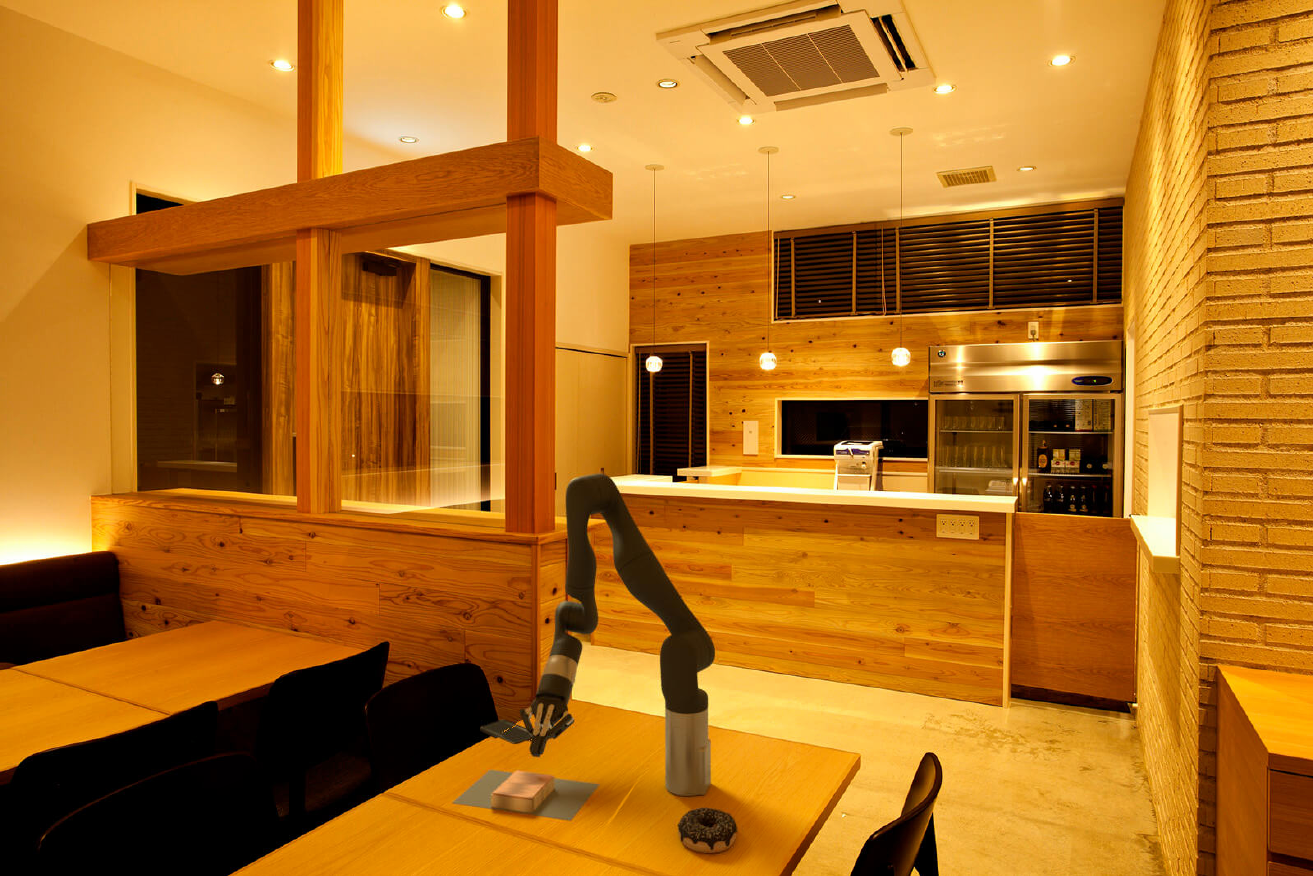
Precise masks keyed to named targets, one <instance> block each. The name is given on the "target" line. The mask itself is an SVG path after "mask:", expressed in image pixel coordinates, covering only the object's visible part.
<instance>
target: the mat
mask: <svg viewBox="0 0 1313 876" xmlns="http://www.w3.org/2000/svg"><path fill="white" fill-rule="evenodd" d="M513 773H514V772H511V771H501V770H494V769H489V770H488V771H487V772H486V773H485V774H483V775H482V776H481V777H480V778H479V779H478V780H476V781H475V782H474V783H473V784H471V786H470V787H468V789H466V790H465V791H464V792H463V793H462V794H460V795H459V796H458V797H457V798H455V800H453V801H452V802H451V804H456V805H462V806H469V807H475V808H483V809H490V810H495V811H503V812H510V813H517V814H523V815H529V816H530V815H531V816H537V817H544V818H549V819H550V818H551V819H557V820H565V821H570V822H571V821H572V820H573V818H574V817H575V816H576V815H577V814H578V813H579V811H580V810H581V809H582V807H583V806H584V805H585V803H586V802H587V801H588V799H590V797H591V796H592V795H593V794H594V792H595V791H596V790H597V789H598V787H599V786H600V783H593V782H586V781H579V780H570V779H563V778H556V777H555V788H554V789H553V791H552V792H551V793H550V794H549V795H548V796H547V797H546V798H545V799H544V800H543V802H542V803H541V804H540V805H539V806H538V807H537V808H536V809H535V810H534V811H533V813H529V812H522V811H515V810H508V809H502V808H495V807H491V794H492V793H493V792H494V791H495V790H496V789H497V788H498V787H499V786H500V785H501V784H502V783H503V782H505V781H506V780H507V779H508V778H509V777H510V776H511V775H512V774H513Z"/></svg>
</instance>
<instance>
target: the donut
mask: <svg viewBox="0 0 1313 876" xmlns="http://www.w3.org/2000/svg"><path fill="white" fill-rule="evenodd" d="M736 823H737V822H736V821H735V818H734V817H733V816H732V815H731V814H730V813H729V812H725V811H722V810H721V809H716V808H710V807H698V808H694V809H691V810H688V811H687V812H686V813H685V814H683V816H682V817H681V818H680V819H679V822H678V824H677V827H678V828H677V830H678V838H679V840H680V842H681V843H682V845H684V846H685V847H686V848H688V849H689V850H692V851H694V852H697V853H701V854H702V853H703V854H714V853H715V854H717V853H721V852H723V851H726V850H728V849H729V848H731V846H732V845H733V844H735V841H736V839H737V833H738V826H737V824H736ZM716 852H717V853H716Z"/></svg>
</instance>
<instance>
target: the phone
mask: <svg viewBox="0 0 1313 876" xmlns="http://www.w3.org/2000/svg"><path fill="white" fill-rule="evenodd" d="M515 725H516V723H514V722H512V721H510V720H509V719H500V720H497V721H493V722H491V723H488V724H485V725H482V726H480V732H482V733H484V734H486V735H488V736H491V737H492V738H495V739H498V738H499V739H501V740H504V741H506V742H509V743H511V744H513V745H515V744H520V743H524V742H530V741H529V740H531V739H532V738H533V736H530V734H529V733H528V732H527V730H526V727H525V726H521V725H519V724H517V725H516V726H515ZM513 726H515V727H513ZM512 727H513V728H512ZM508 728H509V729H508ZM507 729H508V730H507ZM504 730H507V731H505V732H504ZM502 732H503V733H502ZM531 741H532V740H531Z"/></svg>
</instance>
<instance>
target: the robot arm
mask: <svg viewBox="0 0 1313 876" xmlns="http://www.w3.org/2000/svg"><path fill="white" fill-rule="evenodd" d="M597 514H600V515H601V516H602V518H603V520H604V521H605V522H606V524H607V526H608V528H609V530H610V533H611V535H612V553H613V554H612V557H613V565H614V568H615V571H616V573H617V574H618V576H619V578H620V580H621V581H622V583H623V584H624V586H625V587H626V589H627V591H628V592H629V593H630V594H631V596H632V597H634V598H635V599H636V600H637V601H638V602H640V603H641V604H642V605H643V606H644V607H645V608H647V609H648V610H650V611H651V612H652V613H654V615H656V617H658V618H659V619H660V620H661V621H662V623H663V624H664V626H665V627H666V628H667V630H668V631H669V633H670V635H669V636H667V637H666V638H665V639H664V641H663V642H662V644H661V647H660V652H659V671H660V673H659V674H660V689H661V693H662V695H663V698H664V701H665V702H664V707H665V708H664V719H665V720H664V721H665V722H664V732H665V733H664V734H665V735H664V736H665V737H664V739H665V741H664V742H665V743H664V744H665V745H664V746H665V747H664V750H665V751H664V752H665V753H664V754H665V755H664V758H665V759H664V760H665V761H664V763H665V764H664V767H665V768H664V769H665V771H664V772H665V775H664V780H665V781H664V782H665V783H664V784H665V789H666V791H668V792H670V793H672V794H674V795H676V796H682V797H693V796H698V795H700V796H701V795H702V796H705V795H706V793H707V791H708V789H709V788H710V785H711V783H712V777H711V775H712V767H711V766H712V764H711V763H712V762H711V761H712V757H711V756H712V755H711V754H712V753H711V751H712V747H711V745H712V744H711V743H712V741H711V738H709V695H708V693H707V691H705V689H702V688H699V681H698V680H699V679H698V678H699V676H698V674H699V673H700V672H702V671H704V670H706V669H708V668H709V667H710V666H711V665H712V664H713V663H714V661H715V657H716V650H715V648H716V647H715V645H714V642H713V639H712V637H711V636H710V635H709V633H708V631H707V630H706V628H705V627H704V626H703V625H702V623H701V622H700V621H699V620H698V619H697V617H696V616H695V614H694V613H693V612H692V611H691V610H690V608H689V606H688V605H687V603H686V602H685V601H684V599H683V598H682V596H681V595H680V593H679V592H678V590H677V588H676V587H675V585H674V584H673V582H672V580H670V579H671V578H669V576H668V574H667V573H666V571H665V569H664V567H663V566H662V564H661V562H660V560H658V557H657V556H656V554H655V552H654V551H653V550H652V548H651V547H650V545H649V544H648V542H647V541H646V539H645V538H644V536H643V534H642V532H641V531H640V529H639V527H638V526H637V524H636V522H635V521H634V519H633V516H632V515H631V513H630V510H629V508H628V507H627V505H626V503H625V501H624V498H623V496H622V494H621V492H620V490H619V488H618V487H617V484H616V483H615V481H614V480H613V479H612V478H611V477H610V476H609V475H607V474H605V473H598V472H597V473H594V474H593V473H592V474H588V475H582V476H577V477H575V478H573V479H571V480H570V481H569V483H568V484H567V486H566V490H565V516H566V517H565V518H566V533H567V547H568V548H567V555H568V556H567V566H566V567H567V568H566V576H565V584H564V585H565V587H564V590H565V593H566V595H568V596H569V597H571V598H573V599H576V600H577V601H579V602H575V601H571V600H570V601H569V600H563V601H562V602H559V604H558V605H557V607H556V608H555V612H554V635H553V642H552V646H551V648H550V652H549V655H548V658H547V661H546V663H545V665H544V668H543V670H542V674H541V677H540V680H539V684H538V686H537V687H538V688H537V690H536V693H535V696H534V697H535V698H534V700H533V701H532V702H531V704H530V706H529V707H527V708H526V709H525V708H521V709H520V710H519V714H520V717H521V719H522V722H523V725H524V728H526V730H527V732H528V733H529V734H530V736H533V738H532V740H531V741H530V746H529V752H530V755H531V756H532V757H533V758H534V757H535V758H540V757H541V756H542V755H543V754H544V752H545V749H546V745H547V742H548V741H549V740H551V739H553V740H555V739H557V738H558V737H559V736H561V734H563V733H564V732H565V731H566V730H568V728H569V727H571V726H572V725H573V724H574V723H575V719H574V717H573V715H572V714H571V713H569V708H568V704H569V703H570V697H571V695H572V691H573V687H574V684H575V683H576V676H577V670H578V666H579V663H580V659H581V655H582V651H583V643H582V641H581V640H580V639H579V638H577V637H575V636H573V635H571V634H569V633H568V632H570V633H576V634H581V635H591V634H592V633H594V632H595V630H596V629H597V628H598V623H599V612H598V611H599V610H598V607H597V601H596V594H595V591H596V590H595V586H596V580H597V579H596V577H597V570H598V569H597V567H598V566H597V558H596V553H595V551H594V549H593V547H592V545H591V541H590V539H589V535H588V525H589V520H590V516H592V515H597ZM532 714H533V715H532ZM532 716H533V718H534V719H535V720H534V727H533V724H532V722H531V719H532Z"/></svg>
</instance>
